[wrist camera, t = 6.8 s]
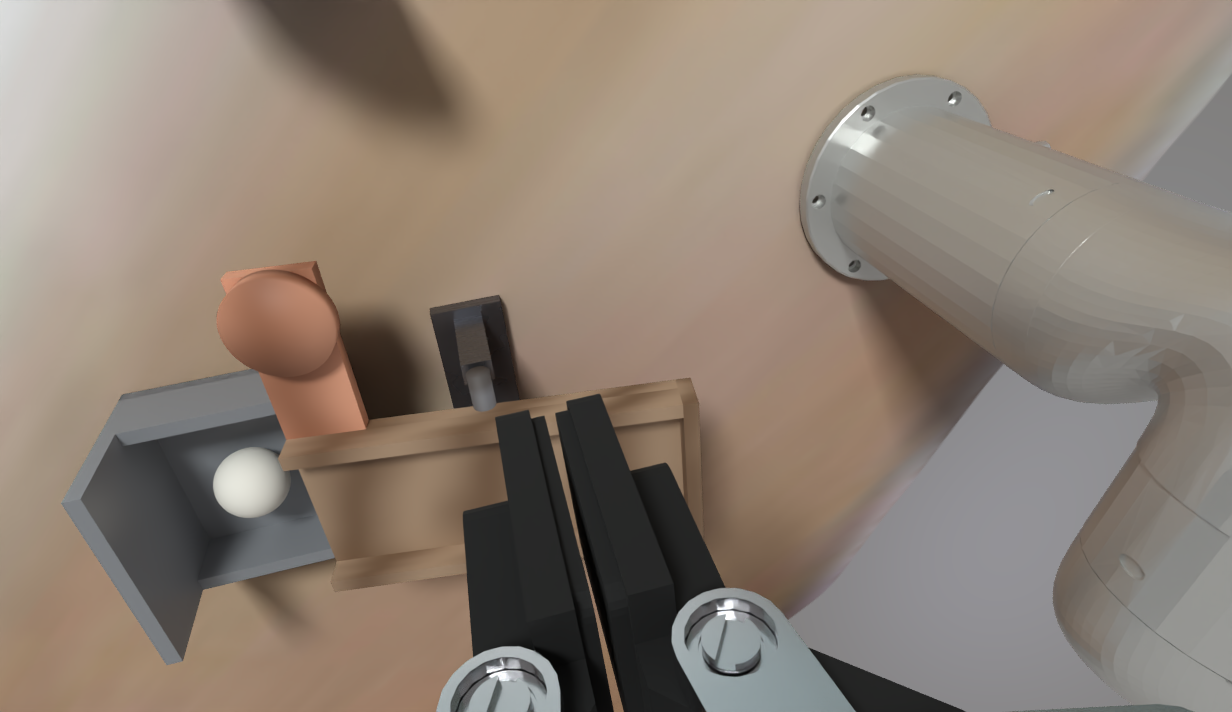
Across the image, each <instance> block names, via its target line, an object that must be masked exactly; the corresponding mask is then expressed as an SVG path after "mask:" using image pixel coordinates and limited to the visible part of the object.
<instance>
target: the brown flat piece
mask: <svg viewBox="0 0 1232 712" xmlns="http://www.w3.org/2000/svg"><path fill="white" fill-rule="evenodd" d="M221 282H222V285H223V287H224V290H225V292H226V294H227V295H226V296H225V297H224V299H223V300H222V302H221V304H220V306H219V309H218V312H217V328H218V332H219V335H220V338H221V339H222V341H223V343H224V345H225V346H226V348H227V349H228V350H229V351H230V353H231V354H232V355H233V356H234V357H235V358H236V359H238V360H239V361H240V362H242V363H243V364H244V365H246V366H248V367H250V368H251V369H254V370H256V371H258V372H259V375H260V377H261V379H262V382H263V384H264V387H265V389H266V392H267V394H268V396H269V399H270V401H271V404H272V406H273V409H274V411H275V413H276V416H277V418H278V421H279V423H280V426H281V428H282V430H283V433H284V435H285V438H286V442H285V444H284V446H283V449H282V451H281V453H280V455H279V458H278V460H279V462H280V465H281V467H282V469H283V471H289V470H297V469H299V472H300V474H301V477H302V479H303V481H304V484H305V486H306V489H307V491H308V494H309V496H310V498H311V501H312V503H313V506H314V508H315V511H316V513H317V515H318V518H319V520H320V523H321V525H322V528H323V530H324V532H325V535H326V537H327V540H328V542H329V545H330V547H331V549H332V552H333V554H334V557H335V559H336V565H335V568H334V572H333V575H332V579H331V584H332V587H333V589H334V591H335V592H338V591H345V590H352V589H359V588H366V587H374V586H381V585H388V584H395V583H402V582H409V581H417V580H424V579H431V578H438V577H445V576H452V575H460V574H467V569H466V556H465V543H464V530H463V511H466V510H471V509H475V508H479V507H483V506H487V505H491V504H495V503H500V502H504V501H508V498H507V491H506V485H505V479H504V472H503V466H502V460H501V453H500V447H499V440H498V434H497V428H496V421H495V417H498V416H502V415H507V414H511V413H516V412H520V411H524V410H529V412H530V416H531V418H535V417H539V416H545V420H546V423H547V427H548V431H549V435H550V439H551V443H552V447H553V451H554V455H555V458H556V462H557V466H558V470H559V474H560V478H561V482H562V486H563V490H564V493H565V497H566V501H567V505H568V509H569V513H570V517H571V521H572V525H573V528H574V532H575V536H576V540H577V544H578V548H579V552H580V556H581V557H583V553H582V548H581V544H580V539H579V535H578V529H577V524H576V519H575V514H574V509H573V504H572V499H571V493H570V488H569V483H568V478H567V473H566V468H565V463H564V458H563V452H562V447H561V442H560V437H559V432H558V427H557V422H556V416H555V413H557V412H561V411H566V410H567V404H566V401H568V400H573V399H577V398H582V397H586V396H591V395H595V394H600V395H601V397H602V399H603V402H604V405H605V407H606V410H607V412H608V415H609V417H610V420H611V423H612V425H613V428H614V430H615V433H616V436H617V438H618V441H619V443H620V446H621V449H622V451H623V454H624V456H625V459H626V462H627V464H628V467H629V469H630V471H632V470H636V469H640V468H644V467H648V466H652V465H656V464H660V463H665V462H666V463H667V464H668V465H669V467H670V469H671V471H672V473H673V475H674V477H675V479H676V481H677V484H678V486H679V488H680V490H681V492H682V495H683V497H684V499H685V501H686V503H687V505H688V508H689V510H690V512H691V514H692V516H693V518H694V521H695V523H696V525H697V527H698V529H699V531H700V534H701V536H702V538H703V540H704V526H703V499H702V472H701V446H700V419H699V402H698V399H697V396H696V393H695V390H694V387H693V384H692V381H691V378H685V379H677V380H669V381H662V382H654V383H647V384H639V385H631V386H624V387H616V388H609V389H601V390H593V391H586V392H578V393H570V394H563V395H555V396H548V397H540V398H532V399H525V400H517V401H509V402H502V403H496V398H495V394H494V389H493V384H492V380H491V375H490V370H489V368H487V367H485V366H477V367H473V368H471V369H469V370H468V371H467V372H466V378H467V382H468V387H469V391H470V395H471V399H472V404H473V406H471V407H464V408H456V409H448V410H441V411H433V412H426V413H418V414H410V415H403V416H395V417H388V418H380V419H372V420H369V419H368V416H367V413H366V410H365V407H364V404H363V401H362V398H361V395H360V392H359V389H358V386H357V383H356V380H355V377H354V374H353V371H352V368H351V365H350V362H349V359H348V356H347V353H346V350H345V347H344V344H343V341H342V338H341V335H340V318H339V314H338V311H337V309H336V306H335V305H334V303H333V301H332V300H331V298H330V297H329V296H328V294H327V292H326V289H325V286H324V283H323V280H322V277H321V274H320V271H319V268H318V265H317V262H316V261H312V262H304V263H296V264H288V265H279V266H271V267H263V268H255V269H247V270H239V271H231V272H226V273H225V275H224V276H223V277H222V278H221Z"/></svg>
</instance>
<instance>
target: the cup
mask: <svg viewBox="0 0 1232 712" xmlns="http://www.w3.org/2000/svg"><path fill="white" fill-rule="evenodd" d="M285 442H286V438H285V435H284V433H283V430H282V428H281V426H280V423H279V421H278V418H277V416H276V413H275V411H274V409H273V406H272V404H271V401H270V399H269V396H268V394H267V392H266V389H265V387H264V384H263V382H262V379H261V377H260V375H259V372H258V371H256V370H254V369H249V370H244V371H239V372H234V373H229V374H224V375H219V376H214V377H209V378H204V379H199V380H194V381H189V382H184V383H179V384H174V385H169V386H164V387H159V388H154V389H149V390H144V391H139V392H133V393H128V394H123V395H122V396H121V398H120V399H119V401H118V403H117V405H116V407H115V408H114V410H113V412H112V414H111V415H110V417H109V419H108V421H107V423H106V424H105V426H104V428H103V430H102V431H101V433H100V435H99V437H98V439H97V440H96V442H95V444H94V446H93V447H92V449H91V451H90V453H89V455H88V456H87V458H86V460H85V462H84V463H83V465H82V467H81V469H80V471H79V472H78V474H77V476H76V478H75V479H74V481H73V483H72V485H71V487H70V488H69V490H68V492H67V494H66V495H65V497H64V499H63V501H62V503H61V504H62V505H63V507H64V509H65V510H66V512H67V513H68V515H69V516H70V518H71V519H72V521H73V522H74V524H75V525H76V527H77V528H78V530H79V532H80V533H81V535H82V536H83V538H84V539H85V541H86V542H87V544H88V545H89V547H90V548H91V550H92V551H93V553H94V554H95V556H96V558H97V559H98V561H99V562H100V564H101V565H102V567H103V568H104V570H105V571H106V573H107V574H108V576H109V577H110V579H111V581H112V582H113V584H114V585H115V587H116V588H117V590H118V591H119V593H120V594H121V596H122V597H123V599H124V600H125V602H126V603H127V605H128V607H129V608H130V610H131V611H132V613H133V614H134V616H135V617H136V619H137V620H138V622H139V623H140V625H141V626H142V628H143V629H144V631H145V633H146V634H147V636H148V637H149V639H150V640H151V642H152V643H153V645H154V646H155V648H156V649H157V651H158V652H159V654H160V656H161V657H162V659H163V660H164V662H165V663H166V665H169V664H173V663H177V662H181V661H183V659H184V655H185V651H186V648H187V644H188V641H189V637H190V634H191V630H192V627H193V623H194V620H195V616H196V612H197V609H198V605H199V602H200V598H201V595H202V591H203V590H204V589H208V588H212V587H217V586H221V585H225V584H229V583H233V582H237V581H241V580H245V579H250V578H254V577H258V576H262V575H266V574H270V573H274V572H278V571H282V570H287V569H291V568H295V567H299V566H303V565H307V564H311V563H315V562H320V561H324V560H328V559H332V558H335V557H334V554H333V552H332V549H331V547H330V545H329V542H328V540H327V537H326V535H325V532H324V530H323V528H322V525H321V523H320V520H319V518H318V515H317V513H316V511H315V508H314V506H313V503H312V501H311V498H310V496H309V494H308V491H307V489H306V486H305V484H304V481H303V479H302V477H301V474H300V472H299V469H297V470H289V471H290V476H291V485H290V489H289V492H288V495H287V496H286V498H285V500H284V501H283V502H282V503H281V505H280V506H279V507H277V508H276V509H275V510H274V511H272V512H270V513H268V514H266V515H264V516H260V517H256V518H243V517H238V516H235V515H233V514H231V513H229V512H227V511H226V510H225V509H223V508H222V507H221V505H220V504H219V503H218V501H217V499H216V497H215V495H214V490H213V480H214V475H215V473H216V470H217V468H218V467H219V465H220V464H221V463H222V461H223V460H224V459H225V458H227V457H228V456H229V455H230V454H232V453H234V452H236V451H238V450H240V449H244V448H249V447H261V448H266V449H269V450H271V451H273V452H275V453H277V454H278V455H280V453H281V451H282V449H283V446H284V444H285Z"/></svg>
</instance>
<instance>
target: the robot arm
mask: <svg viewBox="0 0 1232 712" xmlns="http://www.w3.org/2000/svg"><path fill="white" fill-rule="evenodd" d="M862 110H863V112H862ZM800 214H801V223H802V226H803V229H804V232H805V235H806V238H807V240H808V242H809V243H810V245H811V247H812V248H813V250H814V252H815V253H816V254H817V255H818V256H819V257H820V258H821V259H822V260H823V261H824V262H825V263H827V264H828V265H829V266H831V267H832V268H833V269H835V270H836V271H837V272H839V273H841V274H843V275H845V276H847V277H850V278H854V279H860V280H865V281H882V280H887V279H891V280H892V281H893V282H895V283H896V284H897V285H899V286H900V287H901V288H903V289H904V290H905V291H907V292H908V293H909V294H911V295H912V296H913V297H915V298H916V299H917V300H919V301H920V302H921V303H923V304H924V305H925V306H927V307H928V308H930V309H931V310H932V311H934V312H935V313H936V314H938V315H939V316H940V317H942V318H943V319H944V320H946V321H947V322H948V323H950V324H951V325H952V326H954V327H955V328H956V329H958V330H959V331H960V332H962V333H963V334H964V335H966V336H967V337H969V338H970V339H971V340H973V341H974V342H975V343H977V344H978V345H979V346H981V347H982V348H983V349H985V350H986V351H987V352H989V353H990V354H991V355H993V356H994V357H995V358H997V359H998V360H999V361H1001V362H1002V363H1003V364H1005V365H1006V366H1008V367H1009V368H1010V369H1012V370H1013V371H1015V372H1016V373H1018V374H1019V375H1020V376H1021V377H1023V378H1024V379H1026V380H1027V381H1028V382H1030V383H1031V384H1033V385H1035V386H1037V387H1038V388H1040V389H1041V390H1044V391H1046V392H1048V393H1051V394H1053V395H1055V396H1058V397H1062V398H1066V399H1069V400H1073V401H1077V402H1084V403H1098V404H1120V403H1136V402H1146V401H1155V400H1158V405H1157V408H1156V410H1155V413H1154V415H1153V417H1152V419H1151V420H1150V422H1149V424H1148V425H1147V427H1146V429H1145V431H1144V432H1143V434H1142V435H1141V437H1140V438H1139V440H1138V442H1137V446H1136V448H1135V449H1134V451H1133V452H1132V454H1131V455H1130V456H1129V458H1128V460H1127V461H1126V462H1125V464H1124V466H1123V467H1122V468H1121V470H1120V471H1119V473H1118V474H1117V476H1116V477H1115V479H1114V480H1113V482H1112V483H1111V485H1110V486H1109V488H1108V489H1107V491H1106V492H1105V494H1104V495H1103V497H1102V498H1101V500H1100V501H1099V503H1098V504H1097V505H1096V507H1095V508H1094V510H1093V511H1092V513H1091V515H1090V516H1089V517H1088V519H1087V520H1086V522H1085V523H1084V525H1083V527H1082V529H1081V530H1080V532H1079V533H1078V535H1077V536H1076V538H1075V540H1074V541H1073V543H1072V544H1071V546H1070V547H1069V549H1068V551H1067V553H1066V555H1065V556H1064V558H1063V560H1062V562H1061V564H1060V566H1059V569H1058V571H1057V574H1056V578H1055V581H1054V587H1053V605H1054V610H1055V615H1056V618H1057V621H1058V624H1059V626H1060V628H1061V630H1062V632H1063V634H1064V636H1065V637H1066V639H1067V641H1068V642H1069V643H1070V645H1071V646H1072V648H1073V649H1074V650H1075V652H1076V653H1077V654H1078V656H1079V657H1080V658H1081V659H1082V660H1083V662H1084V663H1085V664H1086V665H1087V666H1088V667H1089V668H1090V669H1091V670H1092V671H1093V672H1094V673H1095V674H1096V675H1097V676H1098V677H1099V678H1100V679H1101V680H1103V682H1104V683H1106V684H1107V685H1108V686H1109V687H1110V688H1112V689H1113V690H1114V691H1115V692H1116V693H1118V694H1119V695H1120V696H1121V697H1123V698H1124V699H1125V700H1127V701H1128V702H1129V703H1131V704H1132V705H1128V706H1109V707H1089V708H1070V709H1052V710H1031V711H1012V712H1232V212H1229V211H1226V210H1223V209H1219V208H1216V207H1213V206H1210V205H1207V204H1204V203H1201V202H1198V201H1195V200H1192V199H1189V198H1186V197H1184V196H1181V195H1178V194H1176V193H1173V192H1170V191H1167V190H1164V189H1162V188H1159V187H1156V186H1153V185H1150V184H1147V183H1144V182H1142V181H1139V180H1136V179H1134V178H1131V177H1128V176H1125V175H1123V174H1120V173H1117V172H1114V171H1112V170H1109V169H1106V168H1103V167H1101V166H1098V165H1095V164H1092V163H1089V162H1087V161H1084V160H1081V159H1078V158H1076V157H1073V156H1070V155H1067V154H1065V153H1062V152H1059V151H1056V150H1054V149H1051V147H1050V145H1049V143H1047V142H1046V141H1038V142H1032V141H1029V140H1026V139H1023V138H1021V137H1018V136H1015V135H1012V134H1010V133H1007V132H1004V131H1001V130H998V129H996V128H993V127H992V125H991V122H990V120H989V117H988V114H987V112H986V110H985V109H984V107H983V106H982V104H981V103H980V101H979V100H978V98H977V97H976V96H974V95H973V94H972V93H971V92H970V91H969V90H968V89H966V88H965V87H963V86H961V85H959V84H957V83H955V82H953V81H951V80H948V79H944V78H940V77H937V76H933V75H918V74H914V75H908V76H902V77H896V78H893V79H891V80H888V81H885V82H883V83H880V84H877V85H876V86H874V87H872V88H871V89H869V90H867V91H866V92H864V93H862V94H861V95H859V96H858V97H857V98H855V99H854V100H853V101H852V102H851V103H849V104H848V105H847V106H846V107H845V108H843V109H842V110H841V111H840V113H839V114H838V115H837V116H836V117H835V118H834V119H833V121H832V122H831V123H830V124H829V125H828V126H827V128H826V129H825V131H824V132H823V134H822V136H821V137H820V139H819V140H818V142H817V143H816V145H815V147H814V149H813V151H812V154H811V156H810V158H809V161H808V163H807V165H806V169H805V173H804V176H803V180H802V184H801V193H800ZM566 404H567V410H566V411H561V412H557V413H555V416H556V422H557V427H558V432H559V437H560V442H561V447H562V452H563V458H564V463H565V468H566V473H567V478H568V483H569V488H570V493H571V499H572V504H573V509H574V514H575V519H576V524H577V529H578V535H579V539H580V544H581V548H582V553H583V557H584V560H585V564H586V568H587V572H588V576H589V580H590V583H591V587H592V591H593V595H594V599H595V603H596V606H597V610H598V614H599V618H600V622H601V626H602V629H603V633H604V637H605V641H606V645H607V648H608V652H609V656H610V660H611V664H612V668H613V671H614V675H615V679H616V683H617V687H618V691H619V694H620V698H621V702H622V706H623V710H624V712H965V711H963V710H961V709H959V708H956V707H954V706H951V705H949V704H946V703H944V702H941V701H939V700H937V699H934V698H932V697H929V696H926V695H924V694H921V693H919V692H917V691H914V690H912V689H909V688H907V687H904V686H902V685H899V684H897V683H895V682H892V681H890V680H887V679H885V678H882V677H880V676H877V675H875V674H872V673H870V672H867V671H865V670H862V669H860V668H857V667H855V666H853V665H850V664H848V663H845V662H843V661H840V660H837V659H835V658H833V657H830V656H828V655H825V654H823V653H820V652H818V651H816V650H813V649H810V648H808V647H807V645H806V644H805V643H804V641H803V640H802V639H801V638H800V636H799V635H798V634H797V632H796V631H795V630H794V628H793V627H792V625H791V624H790V623H789V621H788V620H787V619H786V617H785V616H784V614H783V613H782V612H781V611H780V610H779V609H778V608H777V607H776V606H775V605H774V604H773V603H772V602H771V601H770V600H768V599H766V598H764V597H762V596H760V595H759V594H757V593H755V592H751V591H747V590H743V589H739V588H725V586H724V583H723V581H722V579H721V577H720V575H719V573H718V570H717V568H716V566H715V564H714V562H713V560H712V557H711V555H710V553H709V551H708V549H707V547H706V544H705V542H704V540H703V538H702V536H701V534H700V531H699V529H698V527H697V525H696V523H695V521H694V518H693V516H692V514H691V512H690V510H689V508H688V505H687V503H686V501H685V499H684V497H683V495H682V492H681V490H680V488H679V486H678V484H677V481H676V479H675V477H674V475H673V473H672V471H671V469H670V467H669V465H668V464H667V463H666V462H665V463H660V464H656V465H652V466H648V467H644V468H640V469H636V470H632V471H630V469H629V467H628V464H627V462H626V459H625V456H624V454H623V451H622V449H621V446H620V443H619V441H618V438H617V436H616V433H615V430H614V428H613V425H612V423H611V420H610V417H609V415H608V412H607V410H606V407H605V405H604V402H603V399H602V397H601V395H600V394H595V395H591V396H586V397H582V398H577V399H573V400H568V401H566ZM495 421H496V428H497V434H498V440H499V447H500V453H501V460H502V466H503V472H504V479H505V485H506V491H507V498H508V501H504V502H500V503H495V504H491V505H487V506H483V507H479V508H475V509H471V510H466V511H463V530H464V543H465V556H466V569H467V582H468V595H469V608H470V621H471V634H472V647H473V658H471V659H470V660H468V661H466V662H465V663H464V664H463V665H462V666H461V667H460V668H459V669H458V670H457V671H456V672H455V673H454V674H453V675H452V676H451V678H450V679H449V681H448V682H447V684H446V685H445V687H444V689H443V690H442V693H441V696H440V700H439V703H438V706H437V711H436V712H614V710H613V705H612V700H611V695H610V690H609V684H608V679H607V674H606V669H605V664H604V659H603V654H602V648H601V643H600V638H599V633H598V628H597V623H596V618H595V613H594V608H593V604H592V599H591V595H590V591H589V587H588V583H587V579H586V575H585V571H584V567H583V563H582V560H581V556H580V552H579V548H578V544H577V540H576V536H575V532H574V528H573V525H572V521H571V517H570V513H569V509H568V505H567V501H566V497H565V493H564V490H563V486H562V482H561V478H560V474H559V470H558V466H557V462H556V458H555V455H554V451H553V447H552V443H551V439H550V435H549V431H548V427H547V423H546V420H545V416H539V417H535V418H531V416H530V412H529V410H524V411H520V412H516V413H511V414H507V415H502V416H498V417H495Z"/></svg>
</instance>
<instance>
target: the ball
mask: <svg viewBox="0 0 1232 712" xmlns="http://www.w3.org/2000/svg"><path fill="white" fill-rule="evenodd" d="M278 458H279V455H278V454H277V453H275V452H273V451H271V450H269V449H266V448H261V447H249V448H244V449H240V450H238V451H236V452H234V453H232V454H230V455H229V456H228V457H227V458H225V459H224V460H223V461H222V463H221V464H220V465H219V467H218V468H217V470H216V473H215V475H214V480H213V490H214V495H215V497H216V499H217V501H218V503H219V504H220V505H221V507H222V508H223V509H225V510H226V511H227V512H229V513H231V514H233V515H235V516H238V517H243V518H256V517H260V516H264V515H266V514H268V513H270V512H272V511H274V510H275V509H276V508H277V507H279V506H280V505H281V503H282V502H283V501H284V500H285V498H286V496H287V495H288V492H289V489H290V485H291V476H290V471H283V469H282V467H281V465H280V462H279V460H278Z"/></svg>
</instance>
